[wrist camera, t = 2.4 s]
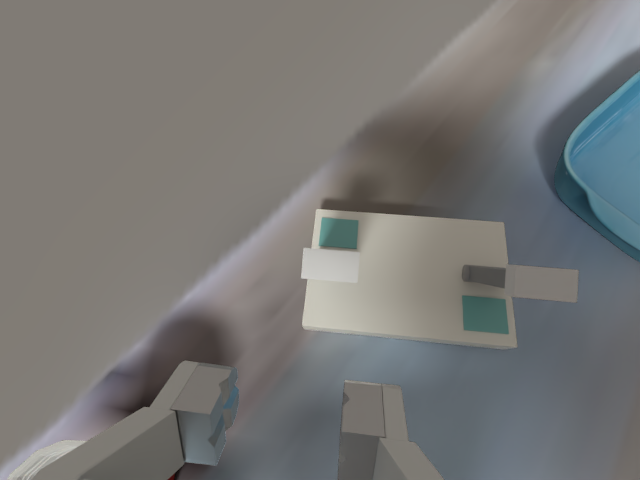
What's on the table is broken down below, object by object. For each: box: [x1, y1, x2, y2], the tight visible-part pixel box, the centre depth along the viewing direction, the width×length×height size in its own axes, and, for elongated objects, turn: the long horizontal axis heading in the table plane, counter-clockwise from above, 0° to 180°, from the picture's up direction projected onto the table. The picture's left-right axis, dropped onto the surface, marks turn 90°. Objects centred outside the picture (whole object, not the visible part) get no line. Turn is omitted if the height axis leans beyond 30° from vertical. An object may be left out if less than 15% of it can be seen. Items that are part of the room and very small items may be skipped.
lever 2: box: [462, 264, 579, 303], centre depth 31 cm, size 2×4×12 cm, turn 84°
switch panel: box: [302, 209, 517, 350], centre depth 39 cm, size 14×22×3 cm, turn 84°
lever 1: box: [301, 248, 360, 283], centre depth 32 cm, size 2×4×12 cm, turn 84°
